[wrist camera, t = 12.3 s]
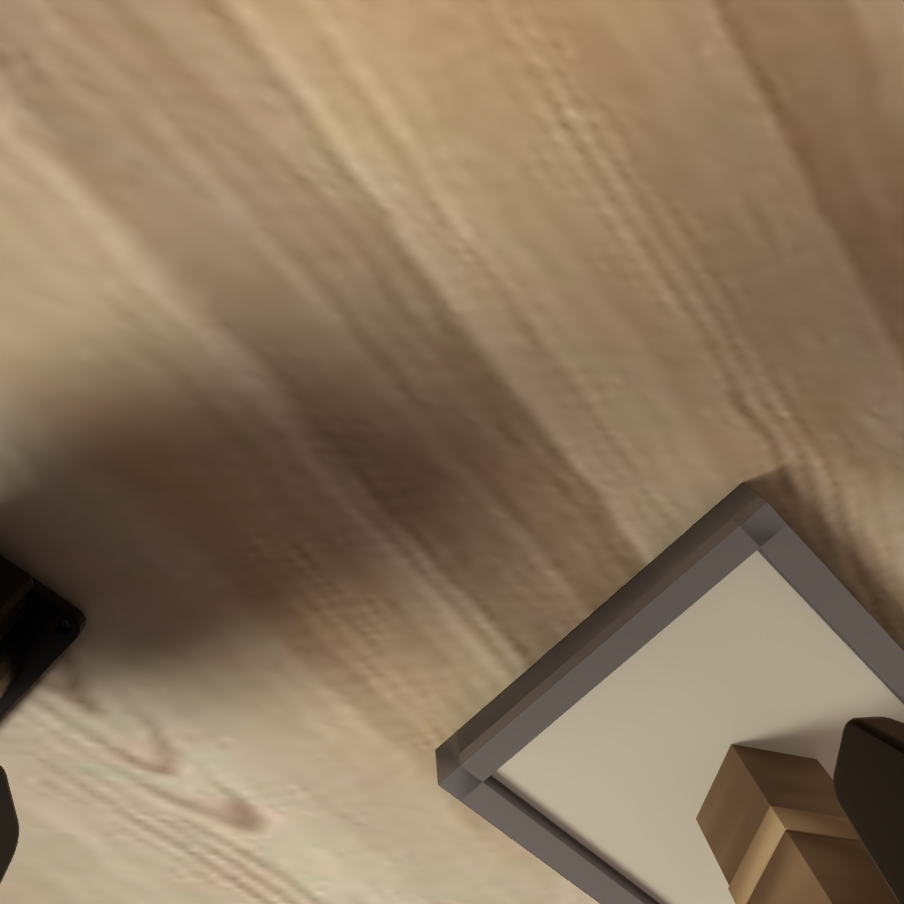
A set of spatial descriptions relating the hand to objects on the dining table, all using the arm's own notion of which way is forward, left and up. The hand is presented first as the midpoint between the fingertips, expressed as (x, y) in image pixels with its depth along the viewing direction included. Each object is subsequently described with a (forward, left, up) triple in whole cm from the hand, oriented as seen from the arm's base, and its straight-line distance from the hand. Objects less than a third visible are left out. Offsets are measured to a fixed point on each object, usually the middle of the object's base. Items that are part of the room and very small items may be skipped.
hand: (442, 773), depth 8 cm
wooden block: (-1, -17, -12) cm, 21 cm away
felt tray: (-1, -17, -13) cm, 21 cm away
